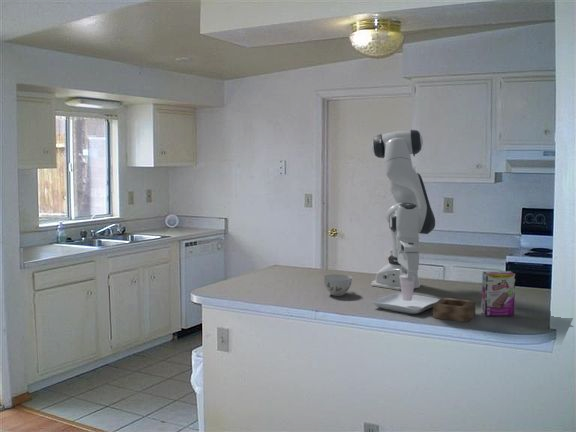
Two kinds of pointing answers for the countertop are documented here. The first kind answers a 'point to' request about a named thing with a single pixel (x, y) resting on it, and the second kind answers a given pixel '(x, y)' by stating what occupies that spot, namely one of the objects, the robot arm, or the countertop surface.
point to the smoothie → (407, 287)
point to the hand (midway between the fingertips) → (407, 278)
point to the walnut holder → (454, 309)
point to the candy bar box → (498, 293)
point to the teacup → (337, 283)
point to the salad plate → (405, 303)
